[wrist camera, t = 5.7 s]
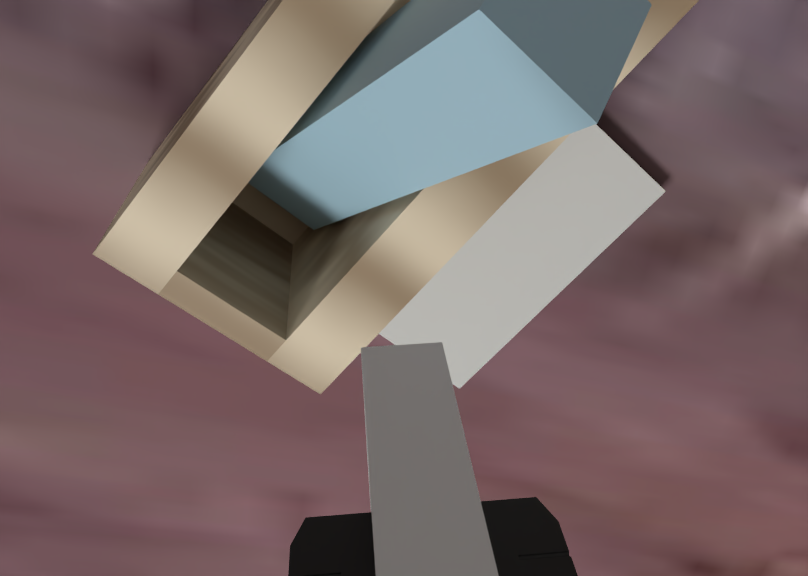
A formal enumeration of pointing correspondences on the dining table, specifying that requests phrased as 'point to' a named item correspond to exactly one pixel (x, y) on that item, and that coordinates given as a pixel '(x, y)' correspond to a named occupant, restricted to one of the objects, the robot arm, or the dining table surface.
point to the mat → (527, 252)
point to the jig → (277, 228)
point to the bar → (448, 99)
